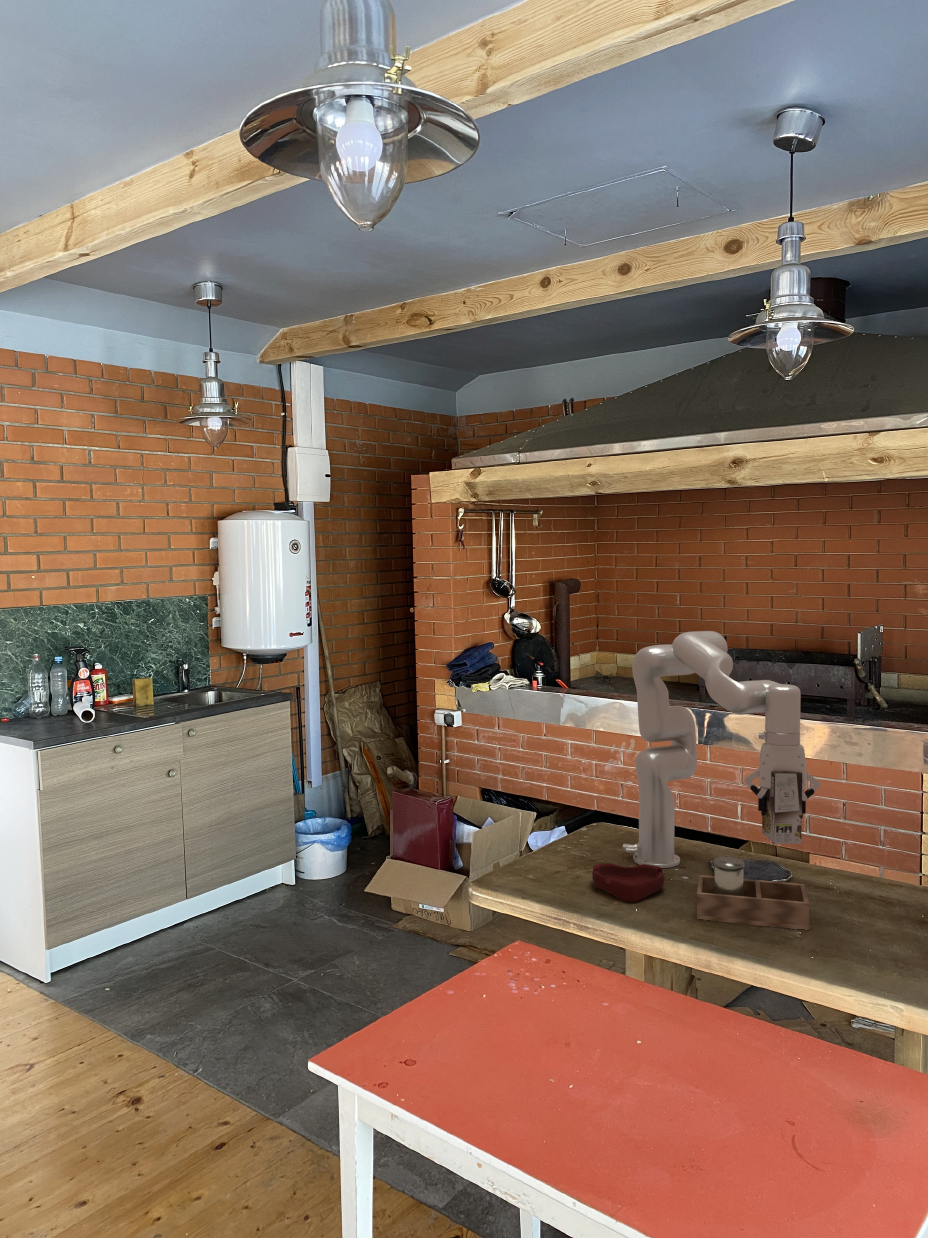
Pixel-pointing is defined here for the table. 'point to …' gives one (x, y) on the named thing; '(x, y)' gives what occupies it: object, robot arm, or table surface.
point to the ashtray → (628, 880)
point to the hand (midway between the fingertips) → (781, 815)
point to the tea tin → (729, 876)
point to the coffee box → (783, 808)
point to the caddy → (755, 904)
